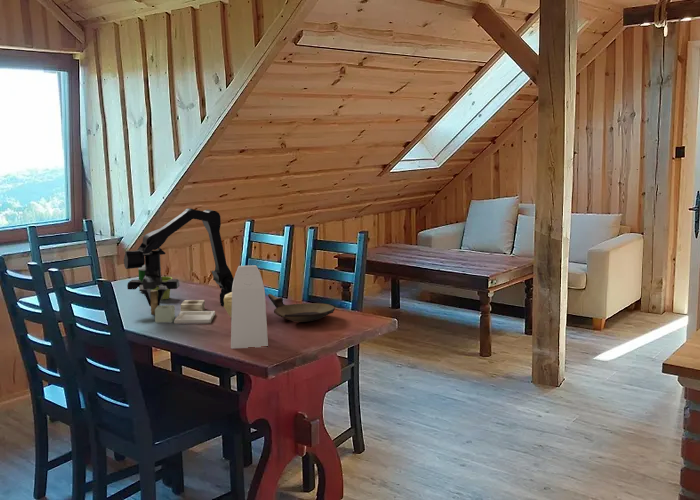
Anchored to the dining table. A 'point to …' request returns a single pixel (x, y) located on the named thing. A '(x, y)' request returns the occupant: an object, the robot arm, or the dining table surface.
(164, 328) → the dining table surface
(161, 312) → the narrow bore block
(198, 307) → the wide bore block
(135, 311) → the dining table surface
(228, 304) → the sculpture
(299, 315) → the oil lamp
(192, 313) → the tray
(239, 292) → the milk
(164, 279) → the plant pot
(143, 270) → the soda can
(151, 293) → the dowel pin
